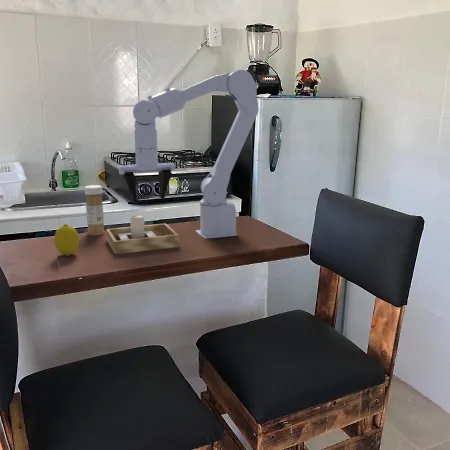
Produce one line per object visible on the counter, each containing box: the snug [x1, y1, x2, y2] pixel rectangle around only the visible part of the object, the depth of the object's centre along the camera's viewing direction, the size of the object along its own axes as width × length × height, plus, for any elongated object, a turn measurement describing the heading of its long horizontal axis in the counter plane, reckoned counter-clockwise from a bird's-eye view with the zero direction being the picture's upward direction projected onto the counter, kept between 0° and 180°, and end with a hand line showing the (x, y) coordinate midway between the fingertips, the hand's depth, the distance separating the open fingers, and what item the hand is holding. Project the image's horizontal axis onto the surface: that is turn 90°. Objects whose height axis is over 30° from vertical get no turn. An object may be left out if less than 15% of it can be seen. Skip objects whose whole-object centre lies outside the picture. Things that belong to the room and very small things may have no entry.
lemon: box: [54, 223, 80, 257], centre depth 119 cm, size 6×6×8 cm
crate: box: [105, 223, 180, 255], centre depth 129 cm, size 16×12×4 cm
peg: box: [130, 215, 145, 239], centre depth 128 cm, size 3×3×7 cm
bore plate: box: [117, 230, 157, 241], centre depth 129 cm, size 9×9×2 cm
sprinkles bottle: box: [84, 184, 106, 236], centre depth 137 cm, size 5×5×14 cm
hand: (148, 199), depth 134 cm, fingers open, 7 cm apart
